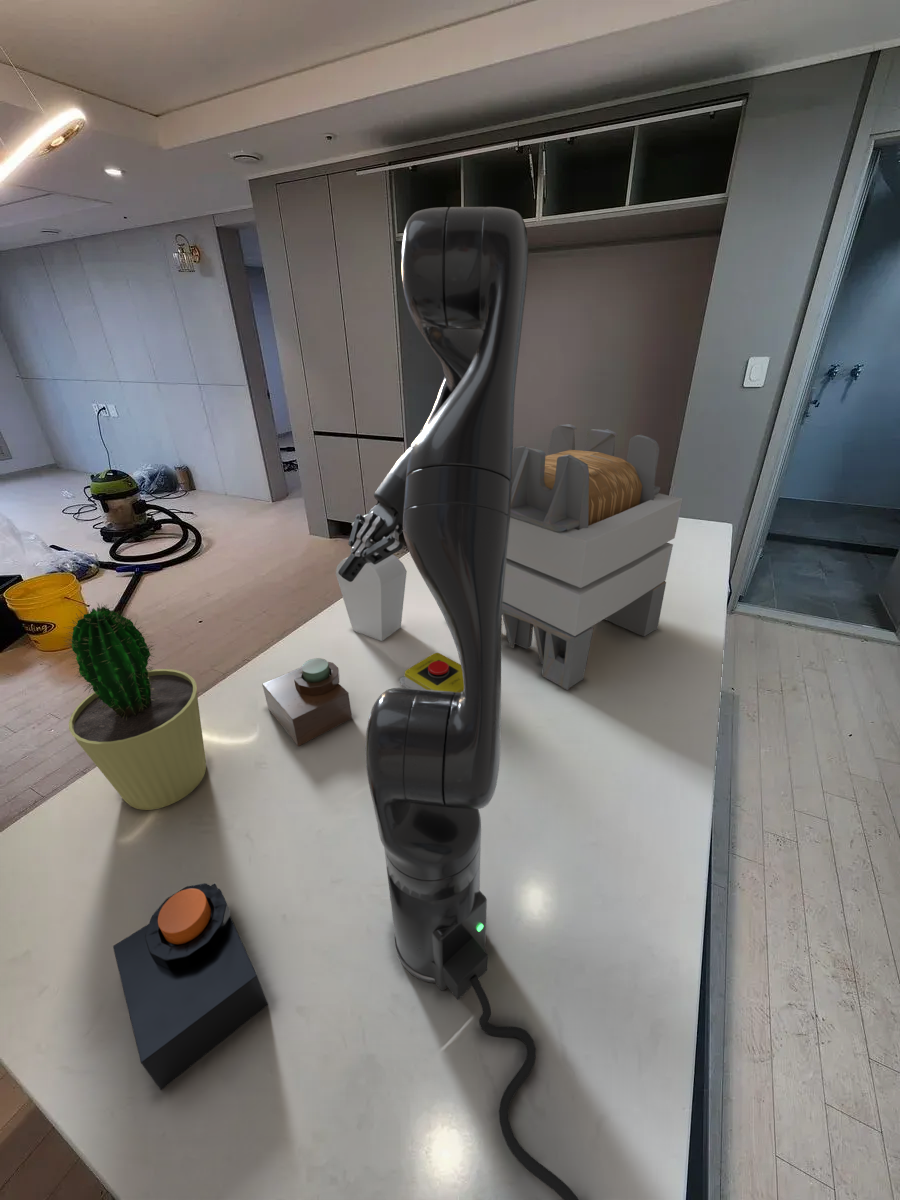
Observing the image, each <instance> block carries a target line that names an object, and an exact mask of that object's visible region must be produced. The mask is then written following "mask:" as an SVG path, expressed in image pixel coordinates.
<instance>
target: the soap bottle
mask: <svg viewBox="0 0 900 1200" xmlns="http://www.w3.org/2000/svg"><path fill="white" fill-rule="evenodd" d="M366 515H368V513H366V514H364V515H363V516H366ZM353 524H354V521H353V522H352V523H351V526H352V527H353ZM371 541H372V540H371ZM376 555H378V554H376ZM348 557H349V556H347V557H346V558H343V559H342V560H341V561H340V562H339V563H338V564H337V566H336V569H335V576H336V579H337V583H338V586H339V590H340V592H341V596H342V599H343V603H344V606H345V610H346V613H347V616H348V619H349V623H350V626H351V629H352V631H354V632H355V633H359V634H361V635H364V636H367V637H370V638H372V639H374V640H378V641H379V642H383V641H384V640H386V639H387V638H388V637H390V636H391V635H393V634H394V633H395V632H396V631H398V630H400V629H401V627H402V621H403V611H404V600H405V592H406V580H407V569H406V567H405V565H404V563H403V562H402V561H401V560H400V559H399V558H398V557H397V556H396V555H394V554H393V555H391V556H389V557H387V558H386V559H384V560H382V561H381V562H379V563H377V564H375V565H374V564H373V563H369V564H367V563H366V564H365V565H364V566H363V568H362V569H361V571H360V572H359V573H358V574H357V576H356V578H355V579H354V580H353V581H352V582H349V581H347V580H346V579H344V578H342V577H341V576H340V575H339V573H338V571H339V570H340V568H341V567H342V565H343V564H344V563H345V561H346V560H347V558H348Z"/></svg>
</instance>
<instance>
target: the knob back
mask: <svg viewBox="0 0 900 1200" xmlns="http://www.w3.org/2000/svg"><path fill="white" fill-rule="evenodd" d="M328 662H329V661H328V660H326V659H325V658H322V657H315V658H311V659H309V660H306V661H305V662H304V663H303V664H302V665H301V667H302V672H303V677H304V680H305V681H306V682H310V683H316V682H321V681H323V680H325V679H327V678H328V677H329V675H330V670H329V664H328Z"/></svg>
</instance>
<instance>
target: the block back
mask: <svg viewBox="0 0 900 1200" xmlns="http://www.w3.org/2000/svg"><path fill="white" fill-rule="evenodd" d="M327 662H328V664H329V670H330V675H329V677H328V678H327V679H325V680H323V681H321V682H316V683H310V682H306V681H305V680H304V677H303V672H302V666H300V667H298V668H295V669H293V670H291V671H288V672H286V673H284V674H281V675H279V676H277V677H275V678H272V679H270V680H268V681H265V682H262V689H263V693H264V697H265V701H266V705H267V709H268V711H269V712H270V713H271V714H272V716H273V717H274V718H275V719H276V721H277V722H278V723H279V724H280V725H281V727H282V728H283V729H284V730H285V732H286V733H287V734H288V736H289V737H290V738H291V739H292V740H293V742H294V743H295V744H296V745H297V747H300V746H301V745H304V744H305V743H308V742H309V741H311V740H313V739H315V738H317V737H320V736H321V735H323V734H325V733H327V732H329V731H331V730H333V729H334V728H337V727H338V726H340V725H342V724H344V723H346V722H348V721H350V720H352V719H353V715H352V708H351V701H350V695H349V691H347V690H346V689H345V688H344V687H343V686H342V685H341V684H340V678H341V677H340V676H341V675H340V669H339V667H338V665H336V664H335V663H334V662H331V661H327Z"/></svg>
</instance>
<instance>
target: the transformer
mask: <svg viewBox="0 0 900 1200" xmlns="http://www.w3.org/2000/svg"><path fill="white" fill-rule="evenodd" d="M577 429H578V428H577V427H576V426H575V425H573V424H571V423H567V424H566V423H565V424H557V426H555V427H554V428H553V429H552V430H551V433H550V439H549V446H548V452H547V455H546V452H545V450H541V449H538V448H537V449H536V448H532V447H527V446H523V445H521V446H516V447H513V469H512V494H511V511H510V526H509V537H508V548H507V559H506V570H505V580H504V592H503V606H502V621H503V624H504V627H505V637H506V639H507V640H508V644H509V647H510V648H515V645H517V646H519V647H521V648H523V649H526V650H527V649H529V648H531V647H532V645H533V632H534V638H535V642H536V643H535V644H536V647H537V653H538V658H539V664H541V665H542V670H541V677H543V678H545V679H547V680H548V681H551V682H552V683H554V684H555V685H558V686H559V687H561V688H562V689H563V690H567V691H568V690H571V689H573V688H574V685H576V684H578V683H580V682H582V681H583V680H584V679H585V678H584V677H585V673H586V666H587V662H588V657H589V652H590V647H591V641H592V637H593V632H594V627H593V626H594V625H596V624H598V623H600V622H601V621H603V620H604V621H607V622H609V623H612V624H614V625H616V626H619V627H621V628H623V629H625V630H628V631H630V632H632V633H634V634H637V635H639V636H641V637H646V636H647V635H649V634H651V633H652V632H654V631H656V630H659V629H658V628H659V624H660V618H661V613H662V607H663V603H664V602H663V601H664V597H665V590H666V584H667V581H666V580H667V575H668V570H669V568H670V567H669V566H670V561H671V557H672V551H673V547H674V543H670V541H672V540H674V539H675V538H676V533H677V528H678V523H679V519H680V515H681V509H682V503H683V500H684V498H681V497H678V496H672V495H667V494H665V493H659V492H660V491H661V487H660V486H659V485H655V483H656V482H655V481H656V475H657V467H658V463H659V455H660V445H659V443H658V442H657V440H656V439H654V438H651V437H650V436H645V435H643V434H637V435H634V436H631V437H630V439H629V443H628V449H627V457H626V460H625V459H624V458H621V457H619V456H618V457H617V456H615V445H616V437H618V433H617V432H615V431H613V430H611V429H608V428H605V429H598V428H592V429H588V430H587V432H586V440H585V447H584V450H577V449H576V444H575V443H576V438H575V436H576V435H575V430H577Z"/></svg>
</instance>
